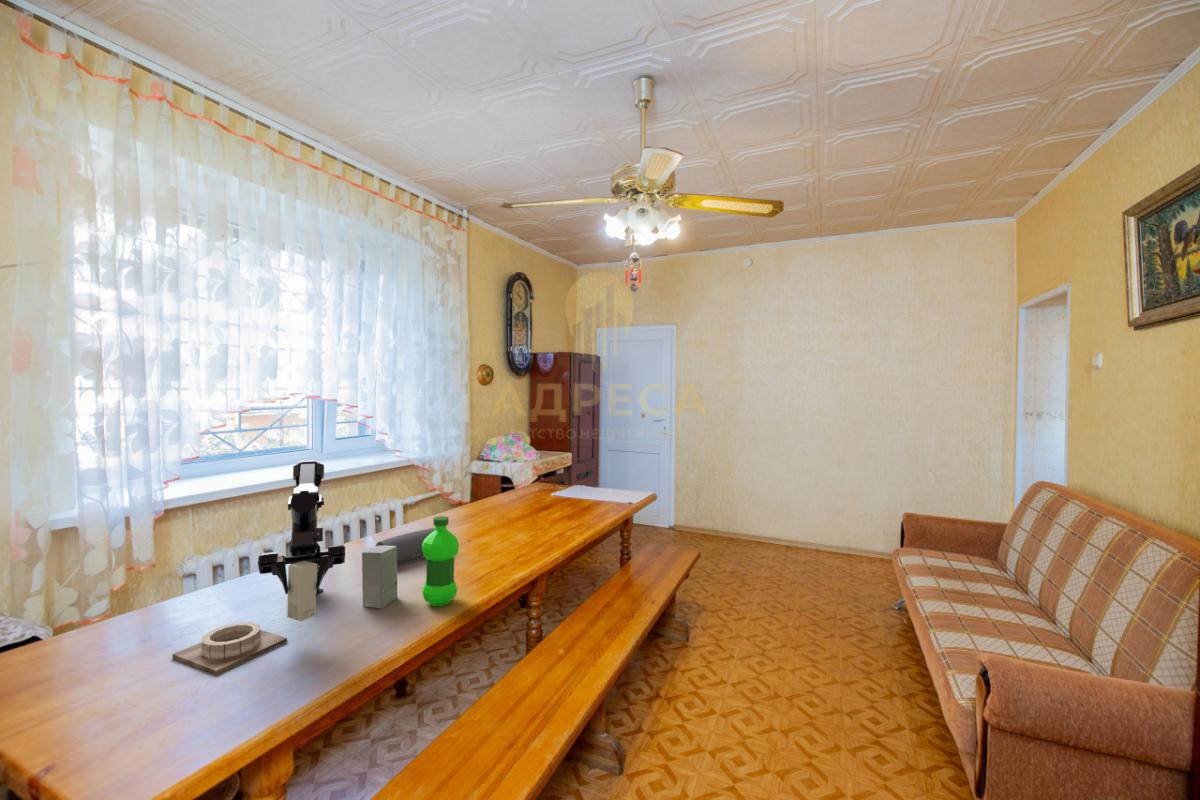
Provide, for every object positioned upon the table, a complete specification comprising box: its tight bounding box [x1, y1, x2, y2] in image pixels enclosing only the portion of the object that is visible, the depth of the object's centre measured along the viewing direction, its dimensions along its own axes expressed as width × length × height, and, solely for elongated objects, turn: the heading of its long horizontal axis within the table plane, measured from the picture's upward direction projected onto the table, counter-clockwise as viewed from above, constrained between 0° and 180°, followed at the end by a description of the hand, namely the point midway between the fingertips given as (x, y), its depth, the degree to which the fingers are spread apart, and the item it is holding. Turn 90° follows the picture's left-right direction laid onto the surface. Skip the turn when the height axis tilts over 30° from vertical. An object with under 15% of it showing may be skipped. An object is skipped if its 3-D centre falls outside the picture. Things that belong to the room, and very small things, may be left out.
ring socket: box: [172, 621, 288, 676], centre depth 121 cm, size 16×16×4 cm
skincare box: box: [361, 545, 398, 609], centre depth 149 cm, size 8×7×16 cm
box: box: [286, 561, 318, 622], centre depth 124 cm, size 5×4×13 cm
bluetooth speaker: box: [375, 527, 435, 566], centre depth 185 cm, size 23×9×10 cm, turn 144°
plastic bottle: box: [422, 516, 460, 607], centre depth 149 cm, size 10×10×25 cm
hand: (302, 591), depth 123 cm, fingers closed on box, 6 cm apart
